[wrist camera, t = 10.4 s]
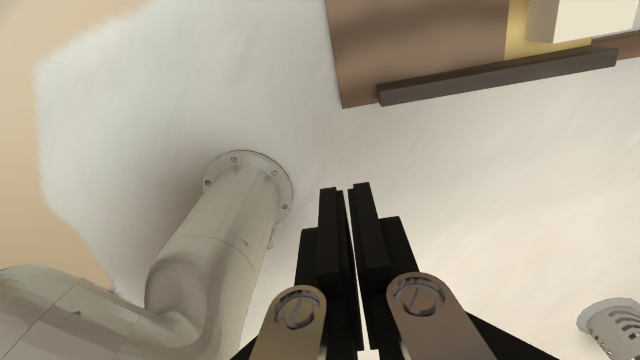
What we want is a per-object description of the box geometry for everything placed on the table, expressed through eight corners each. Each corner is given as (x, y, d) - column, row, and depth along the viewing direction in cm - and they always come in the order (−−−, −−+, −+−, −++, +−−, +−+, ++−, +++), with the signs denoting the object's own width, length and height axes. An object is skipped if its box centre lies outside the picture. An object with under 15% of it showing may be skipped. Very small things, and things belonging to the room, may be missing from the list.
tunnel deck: (674, 43, 31) (741, 49, 26) (342, 103, 36) (342, 118, 31) (735, -139, 25) (842, -180, 20) (319, -37, 30) (315, -47, 24)
